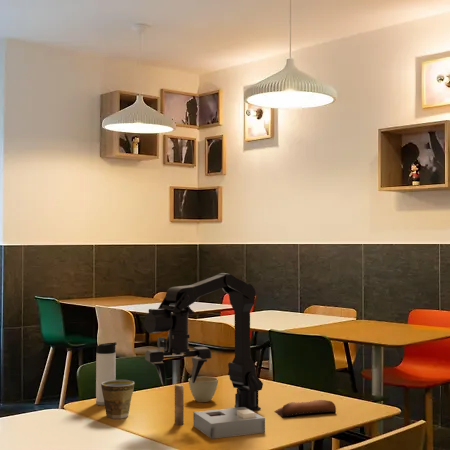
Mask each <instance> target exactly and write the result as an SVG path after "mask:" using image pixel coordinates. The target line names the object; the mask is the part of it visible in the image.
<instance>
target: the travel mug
mask: <svg viewBox="0 0 450 450" xmlns="http://www.w3.org/2000/svg"><path fill="white" fill-rule="evenodd" d="M116 346H117V342H116V341H115V342H107V343H101V344H99V345H96V352H95V353H96V356H95V357H96V359H95V361H96V362H95V363H96V365H95V366H96V367H95V368H96V370H95V373H96V374H95V380H96V381H95V397H96V399H95V404H96V405H97V406H104V407H105V404H104V398H103V393H102V388H101V383H103V382H105V381H110V380H117V378H116V375H117V374H116V365H117V363H116V361H117V359H116V358H117V356H116V352H117V351H116Z"/></svg>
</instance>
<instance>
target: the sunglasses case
mask: <svg viewBox="0 0 450 450" xmlns="http://www.w3.org/2000/svg"><path fill="white" fill-rule="evenodd" d="M336 412H337V408H336V404H335V403H334V402H333V401H331V400H326V399H315V400H310V401H300V402H299V401H298V402H297V401H296V402H295V401H292V402H288V403H285V404H284V405H283V406H282V407H280V408H278V409H276V410H274V413H275V414H277V415H278V416H279V417H281V418H284V417H286V418H287V417H292V416H297V415H303V414H305V415H306V414H315V413H319V414H320V413H333V414H336Z"/></svg>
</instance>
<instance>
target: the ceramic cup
mask: <svg viewBox="0 0 450 450" xmlns="http://www.w3.org/2000/svg"><path fill="white" fill-rule="evenodd" d="M101 388H102V393H103V398H104V404H105V406H104V409H105V410H104V411H105V415H106V418H109V419H113V420H115V419H119V420H120V419H126V418H128V417H129V414H130V410H131V409H130V408H131V403H132V402H131V401H132V398H133V394H134V388H135V381H133V380H128V379H116V380H110V381H105V382H103V383H101Z"/></svg>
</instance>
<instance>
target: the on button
mask: <svg viewBox="0 0 450 450" xmlns="http://www.w3.org/2000/svg"><path fill="white" fill-rule="evenodd" d="M252 411H253V410H249V409H246V410H237V416H238V417H240V418H242V419H248V418H255V413H256V412H255V411H253V412H252ZM254 412H255V413H254Z"/></svg>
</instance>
